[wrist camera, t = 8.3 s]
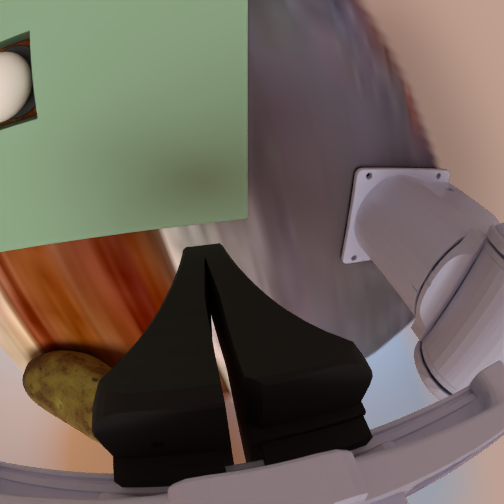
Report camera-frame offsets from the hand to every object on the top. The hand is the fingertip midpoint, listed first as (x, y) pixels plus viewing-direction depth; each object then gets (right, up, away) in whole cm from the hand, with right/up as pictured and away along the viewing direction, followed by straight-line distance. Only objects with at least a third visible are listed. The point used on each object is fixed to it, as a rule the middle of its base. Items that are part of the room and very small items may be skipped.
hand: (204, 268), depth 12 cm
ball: (-12, +9, -1) cm, 15 cm away
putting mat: (-9, +9, +3) cm, 13 cm away
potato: (-14, -10, +15) cm, 23 cm away
